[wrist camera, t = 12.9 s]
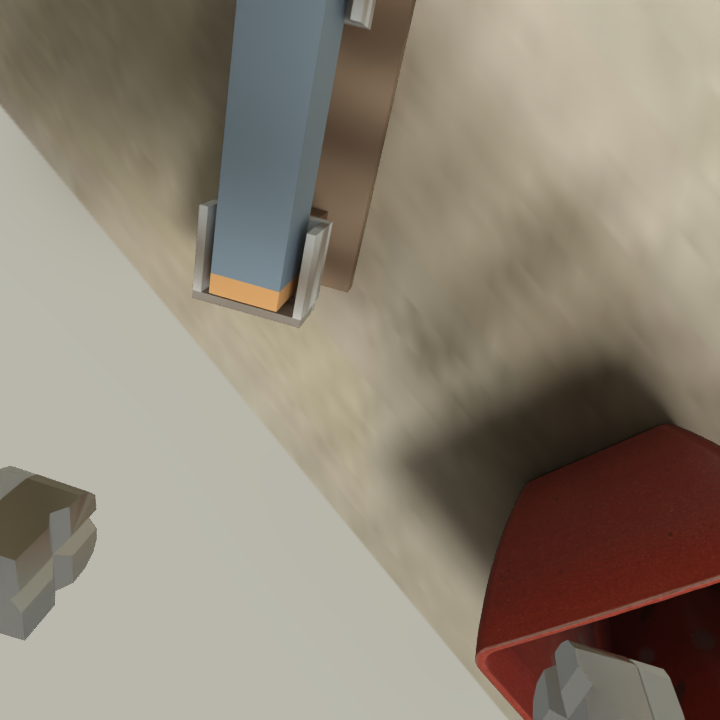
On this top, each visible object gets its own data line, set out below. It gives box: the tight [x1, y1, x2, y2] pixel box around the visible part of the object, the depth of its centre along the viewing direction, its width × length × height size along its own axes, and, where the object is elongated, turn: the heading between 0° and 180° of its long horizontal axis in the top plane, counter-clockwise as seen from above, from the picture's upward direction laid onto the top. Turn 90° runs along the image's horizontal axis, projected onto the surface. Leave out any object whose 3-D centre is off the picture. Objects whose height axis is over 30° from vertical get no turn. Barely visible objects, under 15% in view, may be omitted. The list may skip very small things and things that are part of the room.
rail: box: [209, 0, 348, 312], centre depth 27 cm, size 20×4×4 cm, turn 167°
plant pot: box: [475, 424, 720, 720], centre depth 36 cm, size 19×19×17 cm
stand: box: [192, 0, 416, 328], centre depth 30 cm, size 22×9×10 cm, turn 167°
